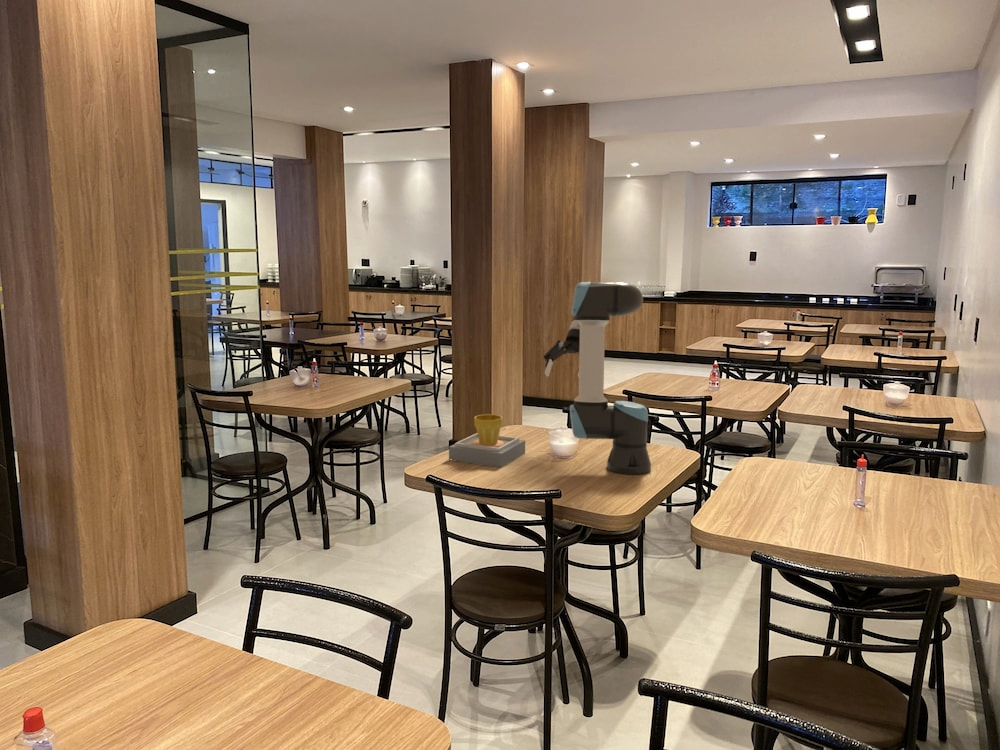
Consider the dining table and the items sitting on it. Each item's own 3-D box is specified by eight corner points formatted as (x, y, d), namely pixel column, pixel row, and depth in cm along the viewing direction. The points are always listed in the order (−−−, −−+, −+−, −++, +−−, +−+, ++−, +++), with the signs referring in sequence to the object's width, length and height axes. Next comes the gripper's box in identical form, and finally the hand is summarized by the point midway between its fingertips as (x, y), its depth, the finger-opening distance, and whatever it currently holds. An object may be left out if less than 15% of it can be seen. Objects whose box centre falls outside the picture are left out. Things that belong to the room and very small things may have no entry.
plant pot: (470, 445, 264) (470, 418, 263) (479, 438, 274) (479, 413, 272) (497, 447, 261) (497, 420, 260) (505, 440, 271) (505, 415, 269)
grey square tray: (525, 453, 273) (525, 437, 272) (501, 467, 254) (501, 450, 253) (475, 447, 282) (475, 431, 281) (449, 460, 263) (448, 443, 262)
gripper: (609, 341, 290) (595, 384, 279) (551, 338, 301) (535, 379, 290) (605, 329, 284) (591, 372, 273) (546, 326, 295) (530, 367, 284)
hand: (562, 375), depth 282 cm, fingers open, 13 cm apart
